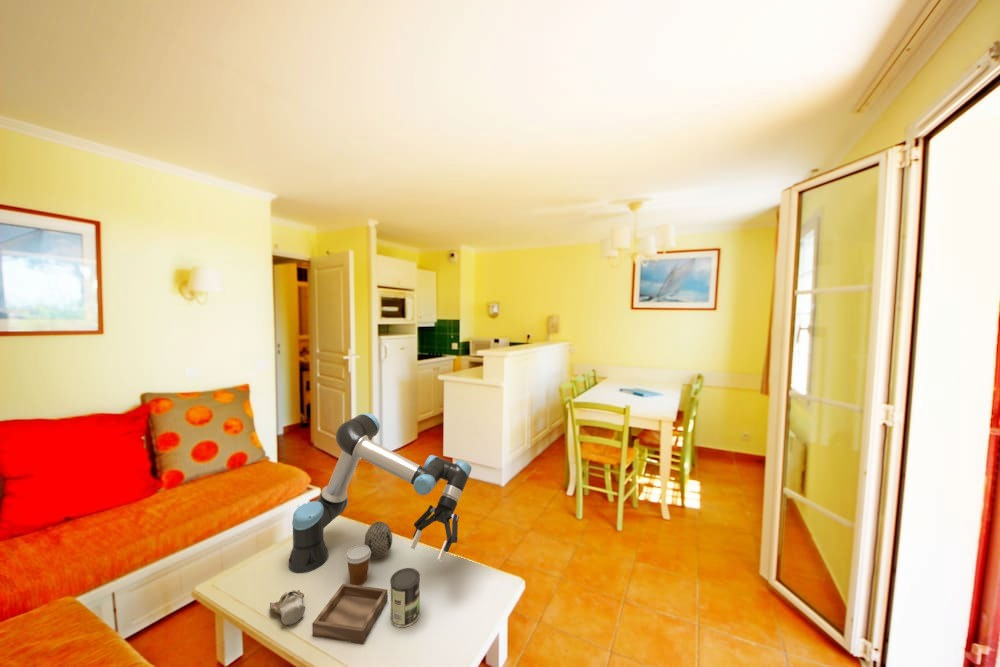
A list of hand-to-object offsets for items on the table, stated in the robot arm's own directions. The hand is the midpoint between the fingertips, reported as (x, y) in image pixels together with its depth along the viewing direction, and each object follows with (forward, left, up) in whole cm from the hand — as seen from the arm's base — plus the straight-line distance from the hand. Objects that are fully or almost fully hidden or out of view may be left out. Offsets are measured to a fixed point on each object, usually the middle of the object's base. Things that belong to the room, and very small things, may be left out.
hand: (425, 554), depth 139 cm
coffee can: (+10, -4, -17) cm, 20 cm away
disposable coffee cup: (-3, -29, -17) cm, 34 cm away
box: (+14, -22, -16) cm, 31 cm away
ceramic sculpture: (+16, -44, -17) cm, 50 cm away
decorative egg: (-18, -28, -17) cm, 37 cm away
